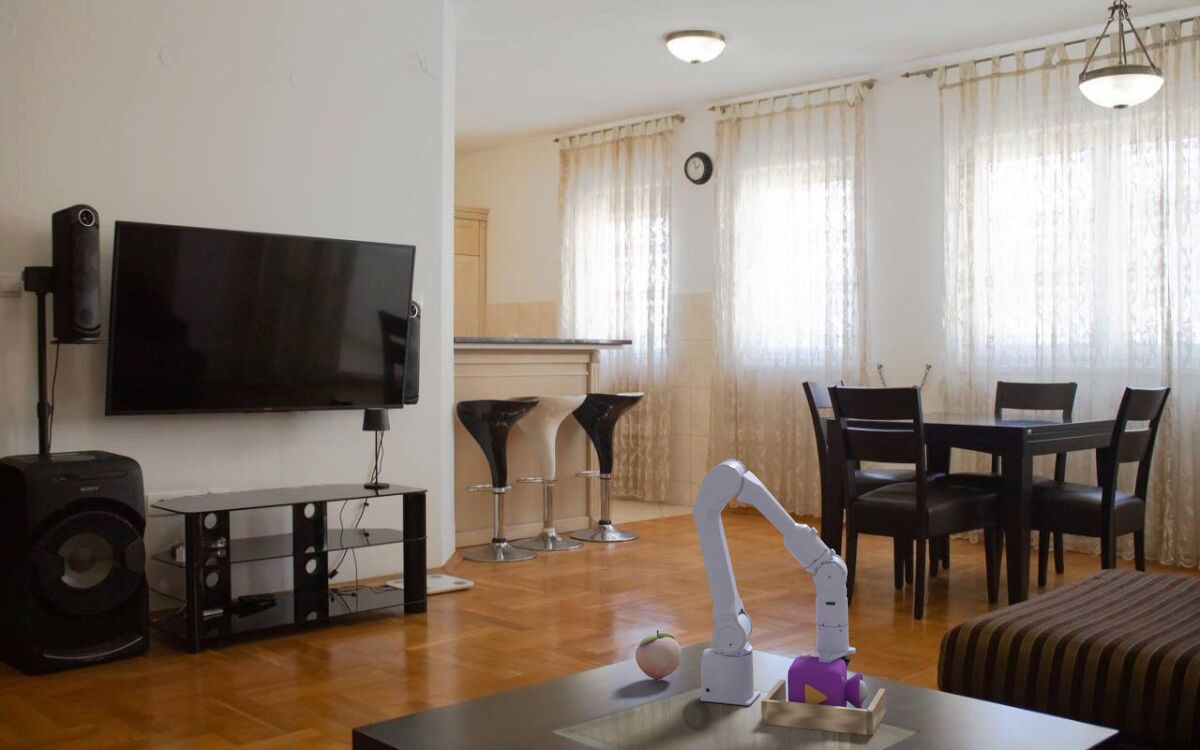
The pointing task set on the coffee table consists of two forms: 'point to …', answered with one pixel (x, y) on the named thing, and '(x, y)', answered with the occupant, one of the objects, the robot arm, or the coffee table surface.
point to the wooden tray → (821, 713)
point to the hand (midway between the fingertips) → (834, 697)
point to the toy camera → (824, 683)
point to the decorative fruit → (658, 655)
